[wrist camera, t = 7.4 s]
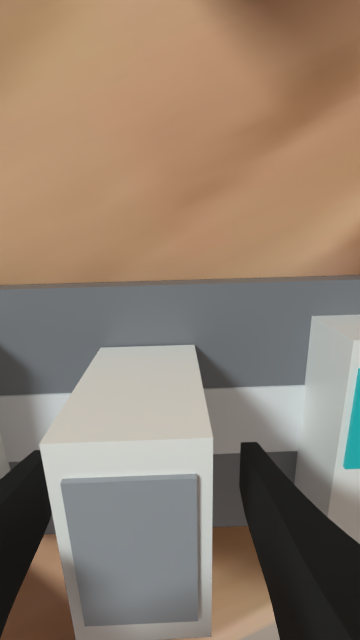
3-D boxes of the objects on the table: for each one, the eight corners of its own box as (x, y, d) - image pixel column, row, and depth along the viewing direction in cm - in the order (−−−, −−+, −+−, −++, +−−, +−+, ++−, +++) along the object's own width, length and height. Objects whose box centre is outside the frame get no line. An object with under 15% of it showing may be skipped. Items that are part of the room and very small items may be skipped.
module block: (114, 480, 14) (74, 650, 9) (100, 347, 12) (36, 448, 7) (195, 477, 15) (212, 643, 9) (194, 344, 13) (213, 442, 7)
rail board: (-37, 517, 17) (-108, 612, 12) (-105, 288, 13) (-238, 313, 9) (351, 501, 17) (410, 589, 13) (391, 274, 13) (492, 292, 9)
